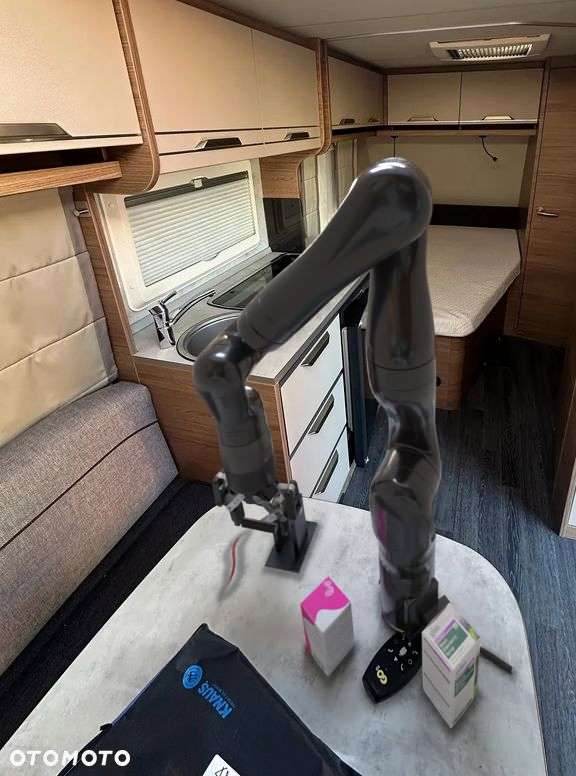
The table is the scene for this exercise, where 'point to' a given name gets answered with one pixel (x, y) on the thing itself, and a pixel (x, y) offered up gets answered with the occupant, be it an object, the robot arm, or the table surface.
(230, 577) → the cayenne pepper
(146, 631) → the table surface
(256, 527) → the lever
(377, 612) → the table surface
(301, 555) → the bracket
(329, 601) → the supplement box
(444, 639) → the syrup box
